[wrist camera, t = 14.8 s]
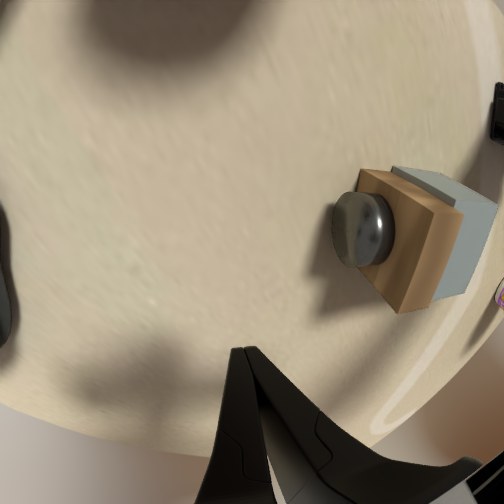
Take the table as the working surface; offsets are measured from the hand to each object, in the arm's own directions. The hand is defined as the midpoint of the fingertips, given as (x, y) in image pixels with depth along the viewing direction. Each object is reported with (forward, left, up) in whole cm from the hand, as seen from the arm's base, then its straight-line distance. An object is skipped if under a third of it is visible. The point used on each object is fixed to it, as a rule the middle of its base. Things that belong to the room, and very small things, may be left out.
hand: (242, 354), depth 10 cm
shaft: (-15, 0, -12) cm, 19 cm away
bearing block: (-17, 0, -12) cm, 21 cm away
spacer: (-13, 0, -12) cm, 17 cm away
